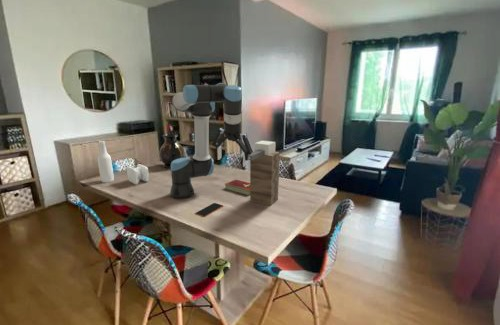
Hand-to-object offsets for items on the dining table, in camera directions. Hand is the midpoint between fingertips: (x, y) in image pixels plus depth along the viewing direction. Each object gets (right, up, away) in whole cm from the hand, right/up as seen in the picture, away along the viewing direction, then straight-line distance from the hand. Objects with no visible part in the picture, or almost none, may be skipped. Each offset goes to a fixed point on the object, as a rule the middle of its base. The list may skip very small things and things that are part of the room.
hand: (231, 162), depth 129 cm
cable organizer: (-73, -15, +66) cm, 100 cm away
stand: (+18, -23, +33) cm, 44 cm away
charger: (+14, +4, +18) cm, 23 cm away
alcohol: (-97, -14, +67) cm, 119 cm away
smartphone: (-14, -28, +20) cm, 37 cm away
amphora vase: (-60, -4, +105) cm, 121 cm away
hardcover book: (+3, -19, +51) cm, 54 cm away
